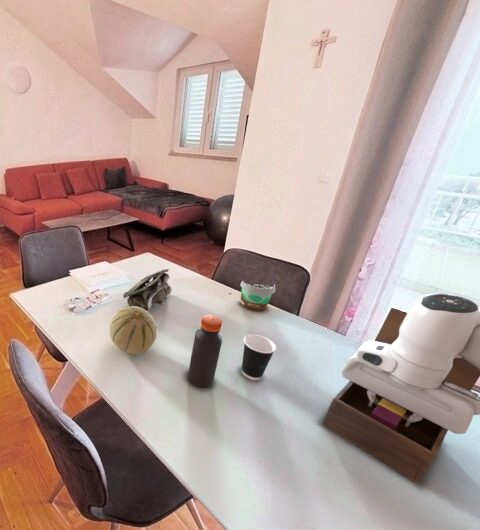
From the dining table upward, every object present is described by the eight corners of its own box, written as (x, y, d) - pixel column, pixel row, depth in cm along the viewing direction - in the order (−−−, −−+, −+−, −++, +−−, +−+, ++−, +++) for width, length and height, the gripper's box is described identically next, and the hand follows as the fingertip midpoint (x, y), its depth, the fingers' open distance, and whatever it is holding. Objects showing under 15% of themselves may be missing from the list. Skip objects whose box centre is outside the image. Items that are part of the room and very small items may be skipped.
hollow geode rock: (130, 328, 119) (157, 314, 108) (111, 300, 121) (136, 283, 110) (165, 298, 138) (191, 284, 127) (148, 274, 140) (172, 258, 129)
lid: (501, 343, 62) (501, 339, 65) (391, 307, 75) (395, 305, 78) (455, 414, 67) (457, 407, 70) (360, 368, 80) (365, 365, 83)
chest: (417, 484, 62) (436, 456, 59) (321, 424, 75) (333, 398, 72) (437, 441, 71) (455, 415, 68) (348, 394, 83) (359, 369, 80)
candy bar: (404, 415, 72) (411, 402, 71) (389, 439, 67) (396, 425, 65) (381, 403, 76) (388, 390, 74) (365, 425, 70) (371, 412, 68)
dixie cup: (236, 361, 95) (244, 331, 91) (266, 369, 92) (275, 339, 87) (235, 378, 89) (243, 347, 84) (267, 388, 85) (277, 355, 81)
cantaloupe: (121, 329, 110) (123, 292, 104) (161, 344, 103) (166, 305, 97) (99, 352, 99) (101, 312, 93) (142, 371, 91) (147, 328, 85)
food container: (238, 309, 122) (243, 287, 118) (236, 302, 128) (241, 280, 123) (273, 314, 119) (280, 291, 115) (269, 306, 124) (276, 284, 120)
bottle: (182, 374, 90) (192, 316, 82) (200, 368, 93) (211, 310, 85) (199, 391, 84) (212, 329, 76) (218, 383, 87) (232, 323, 79)
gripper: (494, 392, 59) (458, 442, 64) (359, 337, 74) (340, 381, 80) (489, 407, 56) (451, 459, 61) (349, 346, 71) (329, 392, 77)
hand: (387, 414), depth 71 cm, fingers closed on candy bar, 4 cm apart
